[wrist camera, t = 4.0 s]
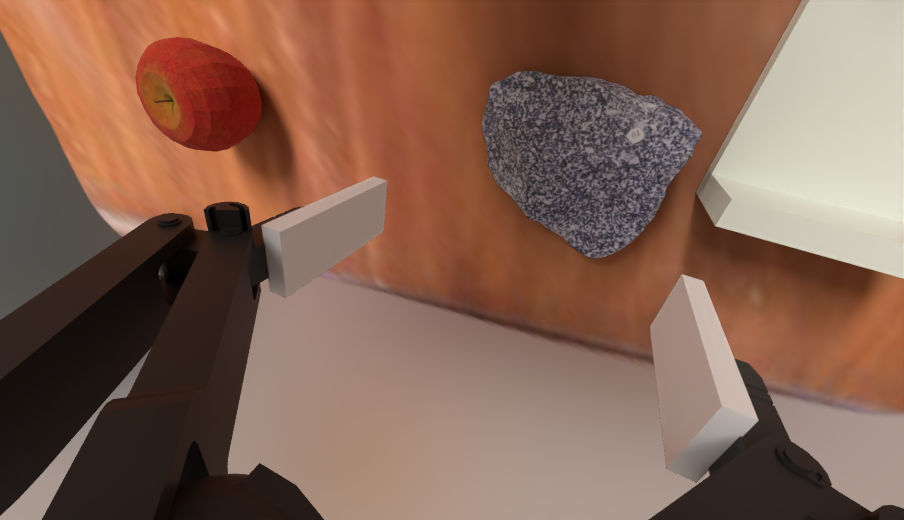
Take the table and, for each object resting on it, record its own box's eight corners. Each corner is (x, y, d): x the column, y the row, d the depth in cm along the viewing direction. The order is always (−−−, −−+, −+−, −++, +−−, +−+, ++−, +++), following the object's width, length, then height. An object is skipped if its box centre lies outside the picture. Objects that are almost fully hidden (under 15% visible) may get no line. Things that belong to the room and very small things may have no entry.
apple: (244, 21, 28) (135, 9, 22) (297, 120, 30) (212, 135, 24) (197, 68, 32) (93, 69, 26) (247, 152, 34) (163, 173, 28)
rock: (726, 95, 16) (630, 286, 20) (703, 101, 20) (629, 256, 25) (480, 46, 19) (443, 219, 24) (507, 61, 24) (473, 203, 28)
